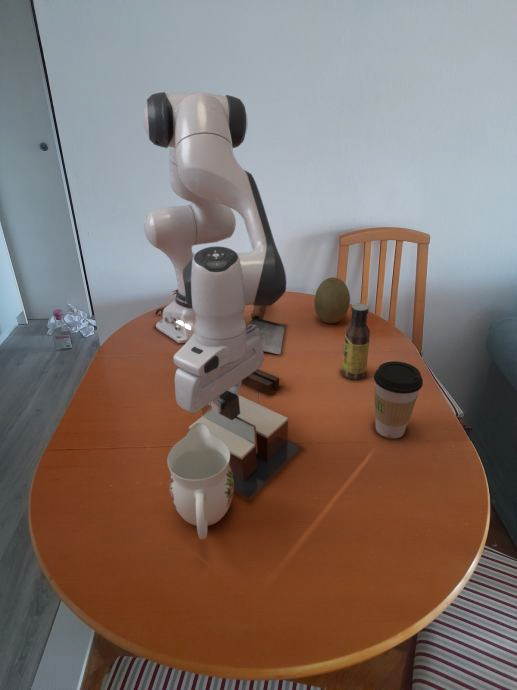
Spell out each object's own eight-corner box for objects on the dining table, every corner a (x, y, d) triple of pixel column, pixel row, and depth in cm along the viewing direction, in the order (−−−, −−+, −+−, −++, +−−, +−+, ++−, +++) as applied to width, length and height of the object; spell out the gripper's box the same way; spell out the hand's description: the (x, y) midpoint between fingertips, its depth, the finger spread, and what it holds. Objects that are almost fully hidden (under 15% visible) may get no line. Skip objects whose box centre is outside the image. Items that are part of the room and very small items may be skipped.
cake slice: (192, 450, 93) (188, 427, 89) (206, 439, 95) (202, 416, 92) (244, 481, 85) (241, 457, 82) (257, 468, 88) (255, 444, 84)
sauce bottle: (344, 366, 122) (350, 299, 112) (367, 370, 120) (375, 302, 110) (338, 378, 117) (345, 309, 107) (362, 383, 115) (371, 312, 105)
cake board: (175, 453, 93) (171, 426, 89) (229, 413, 104) (228, 388, 101) (249, 500, 82) (248, 471, 78) (300, 449, 93) (301, 422, 90)
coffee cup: (382, 409, 105) (390, 354, 97) (421, 428, 99) (433, 371, 91) (358, 429, 99) (365, 372, 92) (398, 450, 93) (408, 391, 85)
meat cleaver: (280, 354, 128) (280, 342, 126) (241, 352, 129) (241, 340, 127) (287, 307, 157) (288, 296, 155) (255, 306, 158) (255, 295, 156)
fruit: (314, 312, 152) (317, 270, 145) (348, 315, 150) (352, 272, 143) (311, 327, 142) (313, 283, 135) (347, 330, 140) (351, 285, 133)
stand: (221, 374, 119) (220, 364, 118) (232, 367, 122) (231, 357, 121) (268, 395, 110) (268, 385, 109) (279, 387, 113) (279, 377, 112)
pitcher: (170, 565, 71) (159, 505, 64) (176, 480, 86) (168, 425, 80) (239, 558, 72) (235, 498, 65) (232, 475, 87) (229, 420, 81)
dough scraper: (200, 427, 92) (193, 384, 86) (208, 421, 94) (202, 378, 88) (253, 457, 85) (249, 412, 79) (260, 449, 86) (257, 404, 80)
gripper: (245, 316, 87) (247, 375, 93) (165, 360, 73) (174, 426, 80) (271, 325, 83) (271, 386, 90) (192, 373, 69) (199, 441, 76)
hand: (225, 405), depth 85 cm, fingers closed on dough scraper, 2 cm apart
